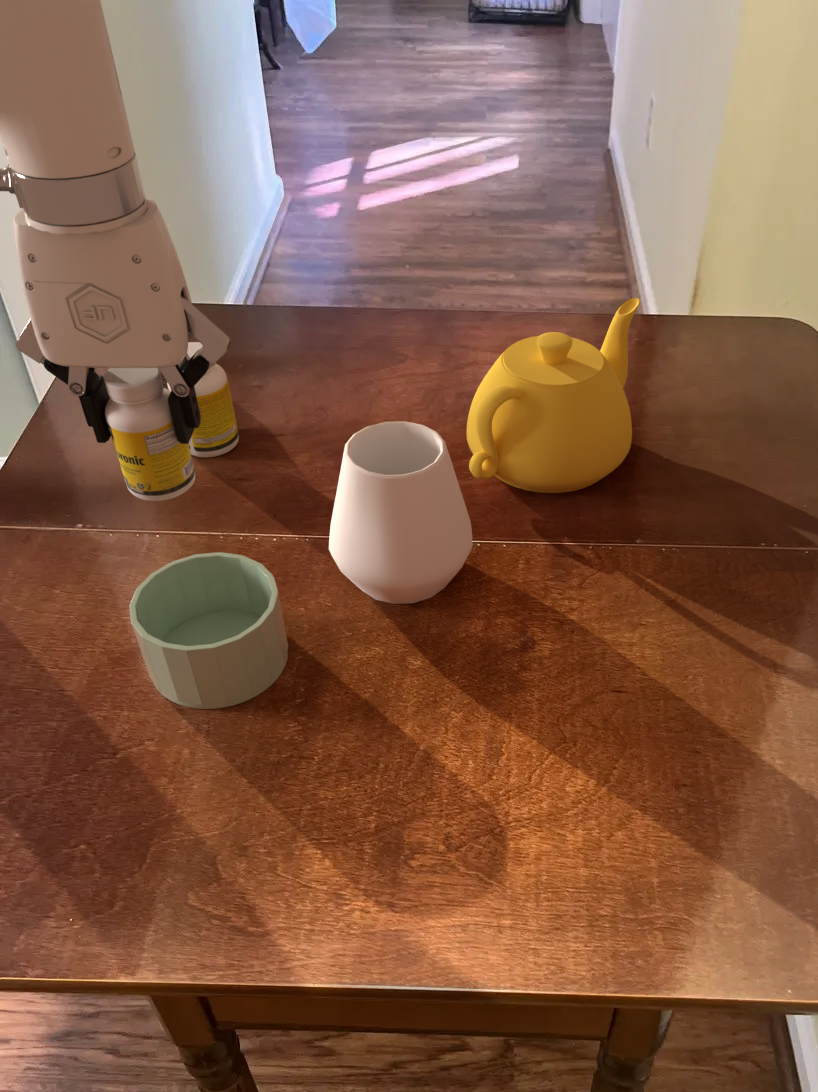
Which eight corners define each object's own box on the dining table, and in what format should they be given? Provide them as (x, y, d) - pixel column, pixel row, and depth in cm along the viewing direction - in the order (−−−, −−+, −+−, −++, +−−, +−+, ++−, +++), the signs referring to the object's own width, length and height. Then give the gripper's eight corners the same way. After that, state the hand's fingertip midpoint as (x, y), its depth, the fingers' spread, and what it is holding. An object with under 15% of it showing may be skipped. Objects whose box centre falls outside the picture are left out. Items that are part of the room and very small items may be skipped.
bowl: (133, 708, 81) (111, 648, 76) (169, 610, 90) (151, 550, 85) (275, 711, 81) (262, 652, 76) (298, 612, 89) (288, 553, 85)
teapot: (568, 379, 119) (577, 269, 109) (687, 437, 110) (708, 323, 101) (416, 462, 106) (410, 346, 97) (536, 535, 98) (543, 415, 88)
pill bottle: (250, 436, 110) (233, 345, 102) (218, 465, 106) (197, 372, 98) (205, 423, 112) (185, 333, 104) (171, 451, 108) (147, 359, 100)
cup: (316, 612, 90) (297, 486, 80) (350, 522, 99) (337, 400, 89) (461, 626, 88) (460, 501, 78) (482, 534, 98) (483, 412, 88)
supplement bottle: (115, 480, 79) (80, 370, 72) (176, 456, 81) (148, 347, 74) (146, 512, 76) (114, 400, 69) (209, 485, 78) (183, 375, 71)
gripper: (-78, 210, 60) (19, 460, 73) (203, 213, 60) (251, 463, 72) (-30, 166, 65) (52, 406, 78) (227, 168, 65) (268, 408, 78)
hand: (147, 431), depth 75 cm, fingers closed on supplement bottle, 5 cm apart
